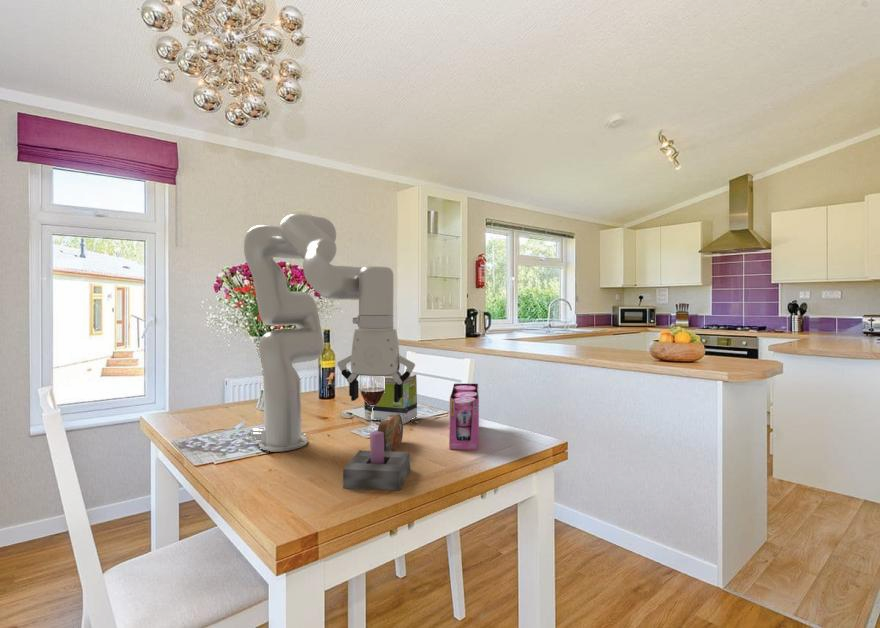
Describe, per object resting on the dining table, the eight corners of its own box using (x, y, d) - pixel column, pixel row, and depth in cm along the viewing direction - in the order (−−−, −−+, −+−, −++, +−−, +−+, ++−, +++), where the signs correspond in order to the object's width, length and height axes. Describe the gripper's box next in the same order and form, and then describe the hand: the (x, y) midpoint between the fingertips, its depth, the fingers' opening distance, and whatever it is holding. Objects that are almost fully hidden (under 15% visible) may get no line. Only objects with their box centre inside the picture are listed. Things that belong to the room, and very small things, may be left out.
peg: (369, 480, 100) (368, 435, 100) (372, 475, 103) (372, 431, 103) (382, 481, 100) (381, 435, 99) (385, 475, 103) (385, 431, 102)
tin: (387, 459, 114) (387, 425, 114) (375, 458, 114) (374, 424, 114) (404, 440, 128) (403, 410, 128) (393, 440, 129) (393, 410, 129)
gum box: (478, 452, 118) (478, 400, 118) (448, 451, 119) (448, 399, 119) (479, 426, 142) (478, 383, 142) (453, 426, 143) (453, 383, 142)
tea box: (418, 417, 154) (417, 373, 153) (403, 425, 144) (403, 378, 144) (379, 413, 160) (379, 371, 159) (363, 420, 151) (362, 375, 150)
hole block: (343, 487, 96) (342, 469, 96) (360, 467, 108) (360, 450, 108) (399, 490, 95) (398, 471, 95) (410, 469, 107) (409, 452, 106)
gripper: (332, 323, 98) (332, 402, 98) (411, 325, 96) (411, 406, 96) (343, 321, 105) (343, 395, 106) (417, 322, 103) (417, 398, 104)
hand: (375, 400), depth 101 cm, fingers open, 9 cm apart
